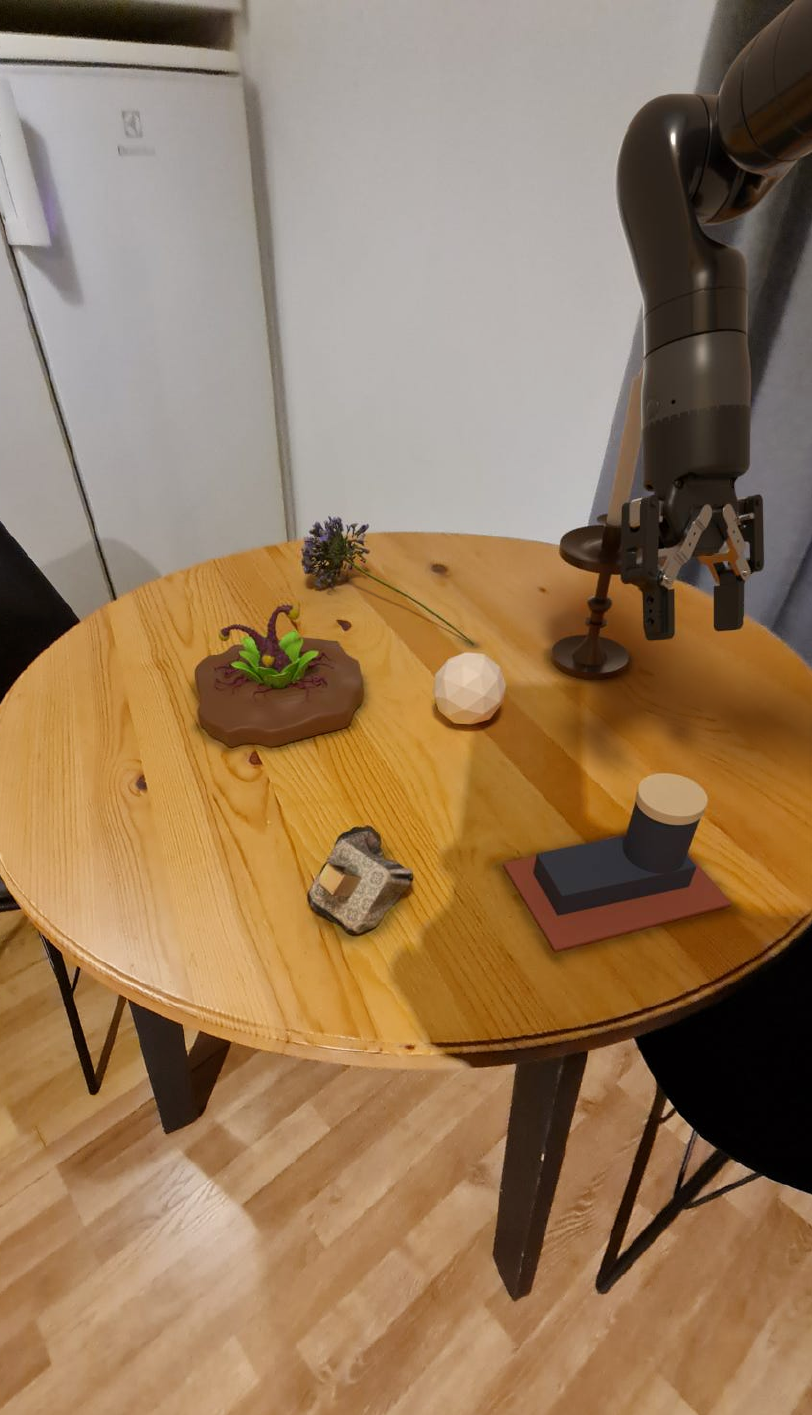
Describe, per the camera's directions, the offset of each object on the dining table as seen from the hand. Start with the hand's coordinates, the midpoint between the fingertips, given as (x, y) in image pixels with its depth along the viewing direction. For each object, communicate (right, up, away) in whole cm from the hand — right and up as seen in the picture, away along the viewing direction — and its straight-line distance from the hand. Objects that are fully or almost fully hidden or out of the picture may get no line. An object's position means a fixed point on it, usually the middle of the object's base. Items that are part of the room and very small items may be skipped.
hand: (695, 635), depth 60 cm
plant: (-36, 0, +28) cm, 46 cm away
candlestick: (+1, +4, +31) cm, 32 cm away
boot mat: (-5, -21, +4) cm, 22 cm away
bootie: (-6, -20, +4) cm, 21 cm away
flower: (-23, +15, +45) cm, 53 cm away
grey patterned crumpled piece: (-27, -21, +5) cm, 34 cm away
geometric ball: (-15, -4, +24) cm, 28 cm away
